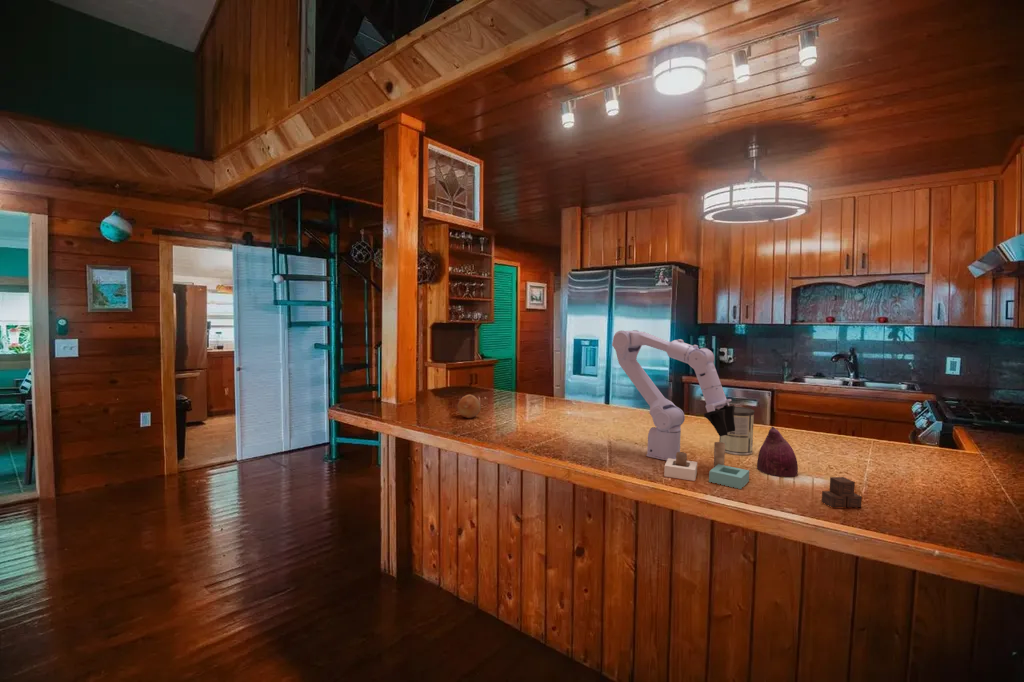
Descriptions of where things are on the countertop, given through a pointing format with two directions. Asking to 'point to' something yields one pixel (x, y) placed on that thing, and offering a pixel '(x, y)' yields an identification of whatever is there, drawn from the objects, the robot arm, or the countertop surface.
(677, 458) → the walnut dowel
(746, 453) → the coffee can
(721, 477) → the teal square frame block
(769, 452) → the vegetable
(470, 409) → the onion
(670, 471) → the white peg holder
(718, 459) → the maple dowel
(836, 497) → the stack of crates
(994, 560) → the countertop surface
